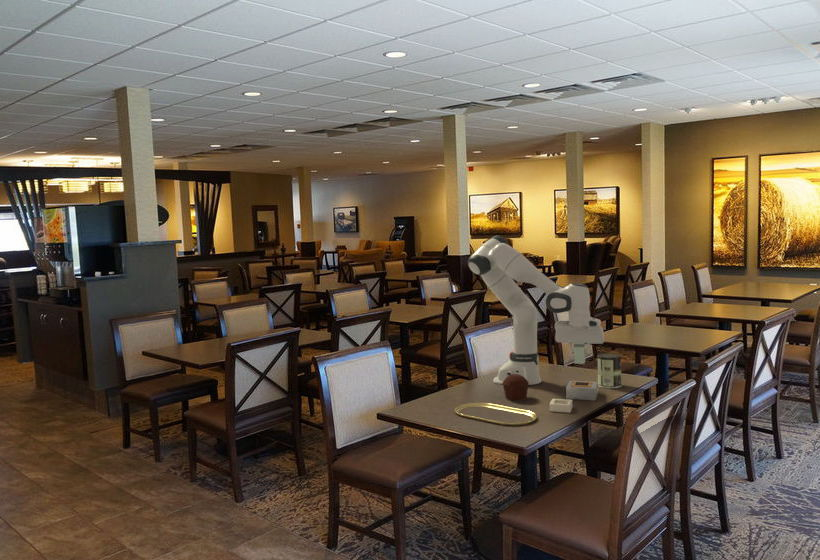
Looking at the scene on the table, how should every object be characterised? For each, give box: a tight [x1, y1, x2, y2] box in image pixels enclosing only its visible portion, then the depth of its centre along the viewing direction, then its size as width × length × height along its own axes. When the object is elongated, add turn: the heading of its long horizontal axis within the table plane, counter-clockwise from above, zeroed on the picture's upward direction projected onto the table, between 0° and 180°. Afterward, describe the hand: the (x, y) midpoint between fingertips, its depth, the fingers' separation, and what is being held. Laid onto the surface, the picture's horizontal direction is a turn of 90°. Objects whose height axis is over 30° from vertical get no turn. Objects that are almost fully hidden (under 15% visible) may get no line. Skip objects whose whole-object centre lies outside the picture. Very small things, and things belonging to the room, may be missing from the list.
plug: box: [573, 343, 586, 365], centre depth 274 cm, size 4×4×9 cm
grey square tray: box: [549, 398, 573, 414], centre depth 258 cm, size 8×8×3 cm
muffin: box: [501, 374, 529, 401], centre depth 277 cm, size 12×11×10 cm
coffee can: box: [596, 352, 622, 389], centre depth 291 cm, size 10×10×14 cm
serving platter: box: [454, 402, 538, 427], centre depth 254 cm, size 19×35×2 cm, turn 48°
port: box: [565, 380, 599, 401], centre depth 276 cm, size 12×12×5 cm
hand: (579, 353), depth 274 cm, fingers closed on plug, 4 cm apart
